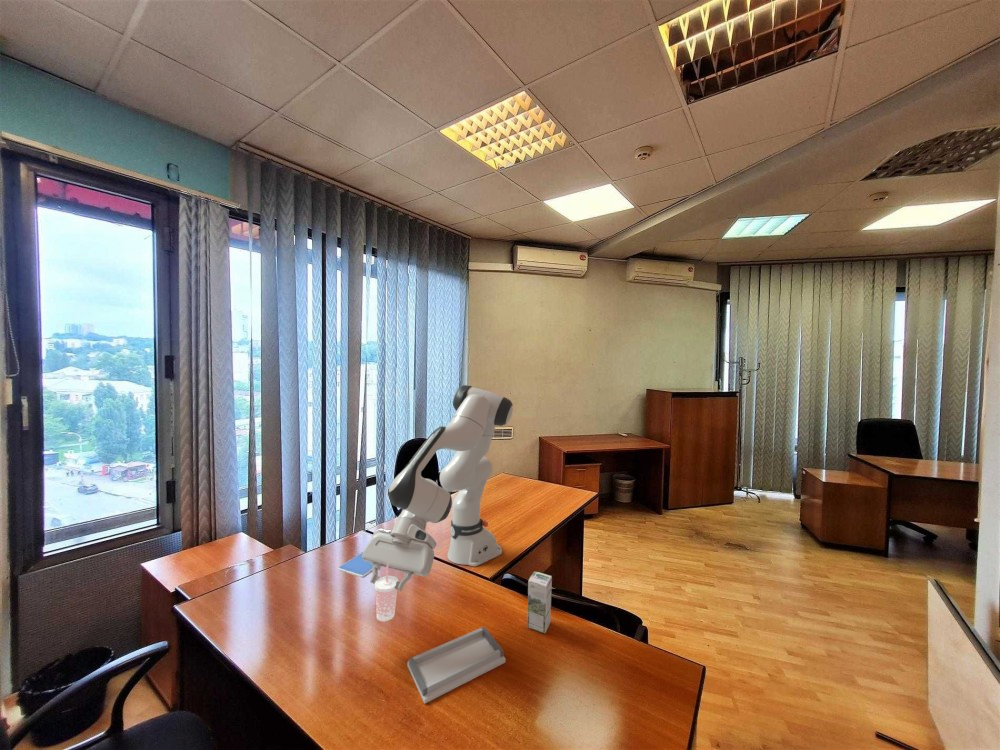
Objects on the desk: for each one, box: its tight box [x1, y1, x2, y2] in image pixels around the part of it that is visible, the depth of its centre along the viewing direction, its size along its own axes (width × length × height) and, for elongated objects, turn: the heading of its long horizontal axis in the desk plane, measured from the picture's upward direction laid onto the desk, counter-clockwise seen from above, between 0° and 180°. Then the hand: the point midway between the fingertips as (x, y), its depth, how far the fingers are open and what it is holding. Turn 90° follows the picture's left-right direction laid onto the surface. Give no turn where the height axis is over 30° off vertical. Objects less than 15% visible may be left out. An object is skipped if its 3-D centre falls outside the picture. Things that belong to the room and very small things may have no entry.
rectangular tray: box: [406, 626, 506, 704], centre depth 92 cm, size 22×12×2 cm, turn 123°
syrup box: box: [526, 571, 553, 634], centre depth 106 cm, size 6×6×14 cm
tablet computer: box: [337, 551, 373, 578], centre depth 139 cm, size 19×13×1 cm, turn 158°
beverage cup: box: [374, 563, 400, 622], centre depth 95 cm, size 6×6×14 cm
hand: (385, 586), depth 95 cm, fingers closed on beverage cup, 6 cm apart
